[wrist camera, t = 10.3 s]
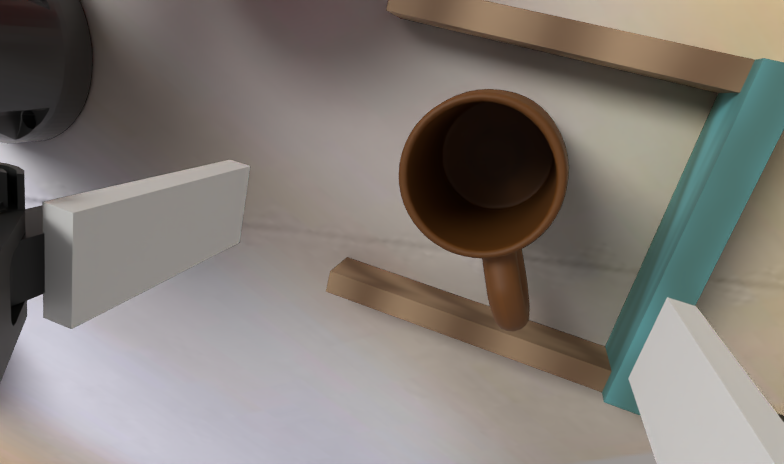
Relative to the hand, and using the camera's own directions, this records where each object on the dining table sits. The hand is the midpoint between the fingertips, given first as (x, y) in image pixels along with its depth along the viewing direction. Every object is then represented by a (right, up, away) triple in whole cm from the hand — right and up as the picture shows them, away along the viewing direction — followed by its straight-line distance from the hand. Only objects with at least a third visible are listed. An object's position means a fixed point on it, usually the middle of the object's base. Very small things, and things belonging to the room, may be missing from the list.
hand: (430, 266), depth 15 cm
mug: (+6, +4, +16) cm, 17 cm away
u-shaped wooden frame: (+6, +4, +15) cm, 17 cm away
